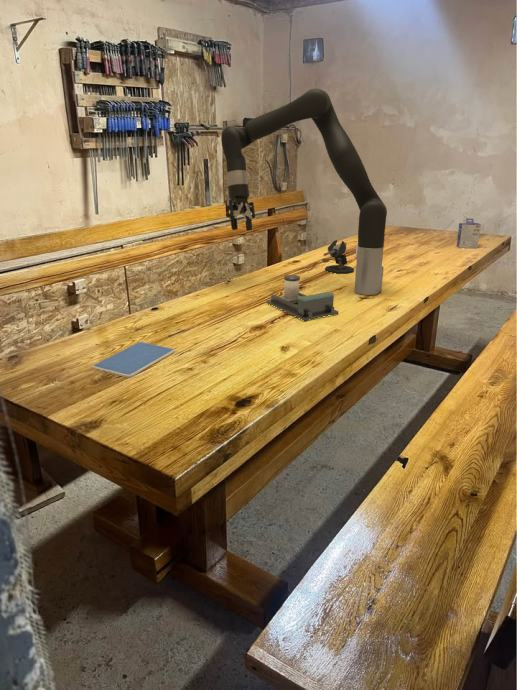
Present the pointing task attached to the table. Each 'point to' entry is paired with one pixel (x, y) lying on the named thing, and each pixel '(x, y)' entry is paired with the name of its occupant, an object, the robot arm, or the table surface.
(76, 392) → the table surface
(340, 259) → the gun turret
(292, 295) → the knob carriage
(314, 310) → the knob mount
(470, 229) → the ink cartridge box
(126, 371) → the tablet computer
